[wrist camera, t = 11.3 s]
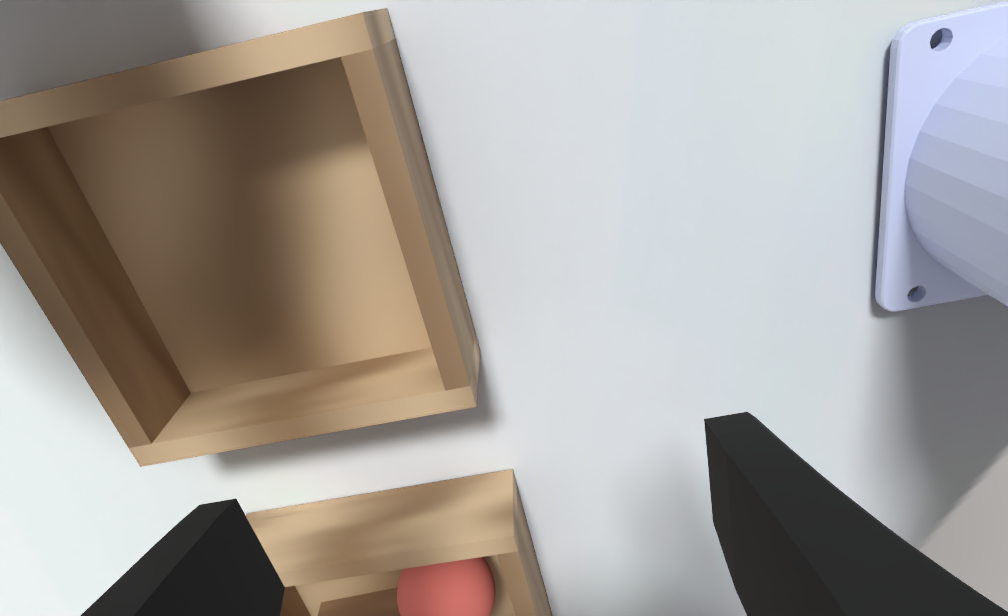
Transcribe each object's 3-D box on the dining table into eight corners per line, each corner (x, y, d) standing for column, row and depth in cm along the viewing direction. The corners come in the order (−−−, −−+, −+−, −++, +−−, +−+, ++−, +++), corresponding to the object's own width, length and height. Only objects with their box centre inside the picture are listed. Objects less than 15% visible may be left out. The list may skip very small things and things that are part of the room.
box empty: (386, 8, 15) (362, 12, 13) (480, 350, 20) (476, 407, 17) (18, 98, 16) (-77, 120, 14) (187, 404, 21) (140, 466, 18)
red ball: (484, 512, 22) (481, 594, 19) (504, 576, 24) (504, 662, 21) (393, 526, 23) (375, 610, 20) (418, 589, 24) (406, 675, 21)
